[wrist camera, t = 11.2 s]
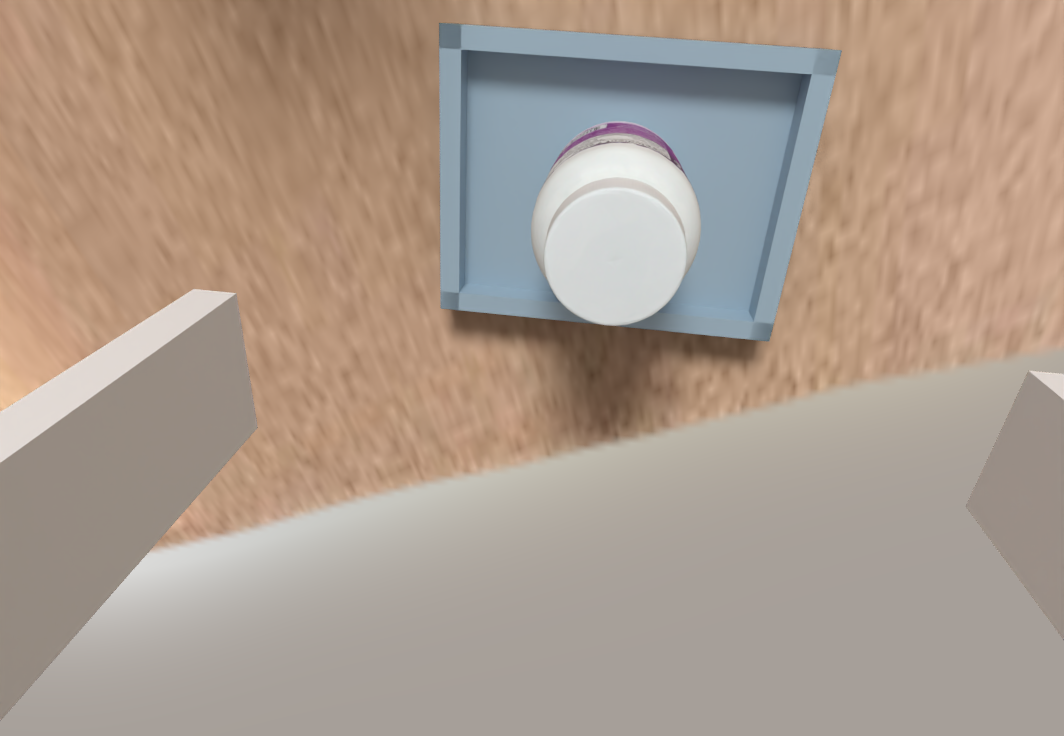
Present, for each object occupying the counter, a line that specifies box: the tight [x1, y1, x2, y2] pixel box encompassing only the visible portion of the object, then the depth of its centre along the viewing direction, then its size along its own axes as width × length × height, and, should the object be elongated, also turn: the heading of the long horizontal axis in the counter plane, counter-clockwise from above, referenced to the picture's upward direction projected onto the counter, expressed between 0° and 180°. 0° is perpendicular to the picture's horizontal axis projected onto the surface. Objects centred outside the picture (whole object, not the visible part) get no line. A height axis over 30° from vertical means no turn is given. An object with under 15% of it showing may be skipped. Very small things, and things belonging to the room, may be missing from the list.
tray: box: [439, 23, 842, 341], centre depth 26 cm, size 14×11×2 cm
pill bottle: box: [531, 121, 701, 326], centre depth 22 cm, size 5×5×10 cm
